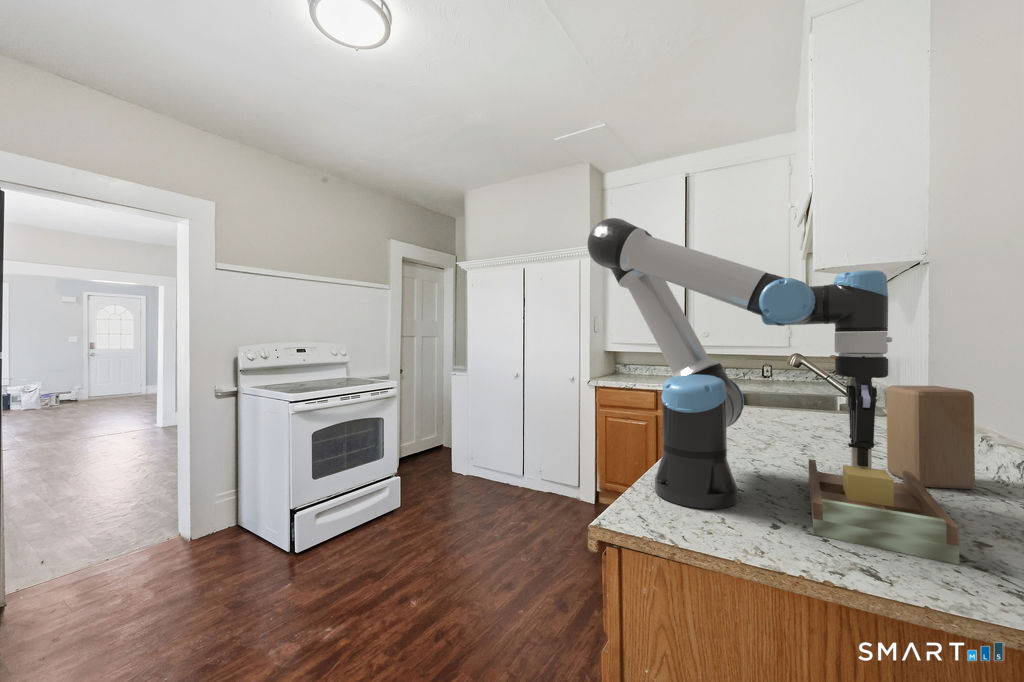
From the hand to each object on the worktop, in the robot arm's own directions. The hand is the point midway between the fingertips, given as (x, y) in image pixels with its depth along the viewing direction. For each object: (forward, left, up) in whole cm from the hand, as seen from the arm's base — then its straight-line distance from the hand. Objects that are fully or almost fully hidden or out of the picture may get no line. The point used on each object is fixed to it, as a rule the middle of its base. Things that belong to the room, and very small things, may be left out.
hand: (861, 481), depth 76 cm
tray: (0, -5, -4) cm, 7 cm away
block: (+13, +23, -4) cm, 27 cm away
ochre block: (0, -4, -2) cm, 4 cm away
